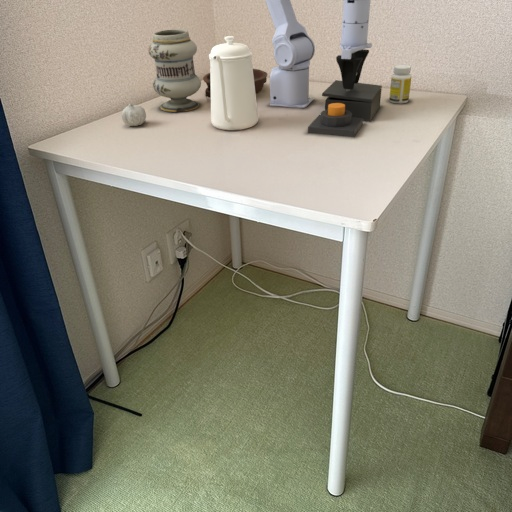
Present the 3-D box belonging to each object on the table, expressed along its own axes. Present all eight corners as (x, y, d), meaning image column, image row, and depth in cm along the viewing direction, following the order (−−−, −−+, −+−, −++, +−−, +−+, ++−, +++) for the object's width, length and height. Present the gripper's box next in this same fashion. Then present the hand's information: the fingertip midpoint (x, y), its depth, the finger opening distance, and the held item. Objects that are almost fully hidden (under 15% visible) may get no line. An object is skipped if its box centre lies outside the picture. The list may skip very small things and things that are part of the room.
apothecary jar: (159, 116, 121) (147, 37, 111) (154, 103, 131) (142, 30, 121) (207, 110, 124) (200, 32, 114) (198, 98, 133) (191, 26, 124)
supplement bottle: (406, 98, 125) (411, 64, 121) (409, 103, 121) (414, 68, 117) (387, 98, 126) (391, 64, 121) (390, 104, 122) (393, 68, 117)
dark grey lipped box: (324, 118, 114) (325, 99, 112) (337, 103, 124) (338, 86, 121) (370, 122, 110) (371, 102, 108) (379, 106, 120) (381, 88, 118)
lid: (321, 96, 112) (323, 75, 109) (335, 83, 121) (337, 64, 119) (371, 102, 108) (374, 81, 106) (381, 88, 118) (384, 69, 115)
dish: (185, 97, 135) (183, 78, 132) (241, 81, 148) (240, 63, 146) (230, 107, 125) (229, 87, 122) (285, 89, 138) (285, 70, 135)
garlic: (134, 130, 112) (130, 107, 110) (118, 126, 115) (114, 104, 112) (152, 122, 117) (149, 100, 114) (136, 119, 119) (132, 98, 116)
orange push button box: (307, 133, 106) (308, 117, 104) (319, 121, 113) (319, 105, 111) (353, 137, 102) (354, 121, 100) (362, 124, 109) (363, 108, 107)
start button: (325, 116, 105) (326, 107, 104) (330, 111, 108) (330, 102, 107) (342, 117, 104) (343, 108, 103) (346, 112, 107) (346, 103, 105)
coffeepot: (195, 142, 104) (185, 47, 93) (225, 108, 124) (219, 28, 114) (245, 144, 101) (240, 47, 91) (267, 109, 122) (265, 27, 112)
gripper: (367, 27, 100) (361, 95, 107) (379, 17, 111) (373, 79, 118) (333, 26, 102) (330, 92, 109) (349, 17, 113) (345, 77, 121)
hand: (350, 85), depth 114 cm, fingers closed on lid, 5 cm apart
